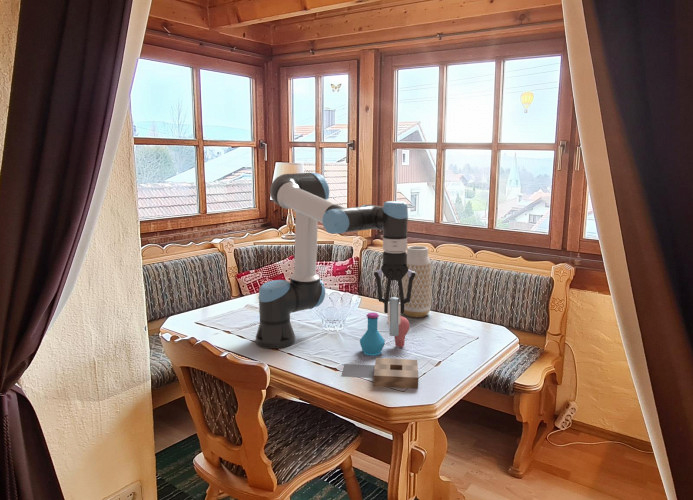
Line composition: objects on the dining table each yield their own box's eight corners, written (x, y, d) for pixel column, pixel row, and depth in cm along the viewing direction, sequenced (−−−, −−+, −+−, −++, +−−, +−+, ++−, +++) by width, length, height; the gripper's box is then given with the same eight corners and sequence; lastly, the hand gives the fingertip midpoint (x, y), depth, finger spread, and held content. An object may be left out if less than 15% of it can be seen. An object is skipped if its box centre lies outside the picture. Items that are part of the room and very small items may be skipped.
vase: (435, 312, 242) (438, 246, 235) (423, 321, 230) (425, 252, 224) (408, 307, 249) (410, 243, 243) (394, 315, 237) (396, 248, 231)
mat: (341, 377, 175) (341, 376, 175) (344, 364, 185) (344, 363, 184) (377, 379, 174) (377, 378, 174) (378, 366, 183) (378, 365, 183)
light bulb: (396, 351, 196) (397, 320, 194) (386, 345, 203) (387, 315, 200) (412, 348, 200) (413, 318, 197) (402, 342, 206) (402, 312, 204)
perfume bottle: (358, 348, 199) (358, 310, 196) (382, 347, 200) (383, 309, 197) (361, 358, 190) (361, 318, 187) (386, 357, 191) (387, 317, 188)
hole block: (373, 387, 168) (373, 375, 167) (375, 368, 182) (375, 357, 181) (418, 389, 166) (418, 377, 166) (416, 370, 180) (417, 359, 179)
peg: (389, 335, 170) (389, 299, 167) (389, 332, 173) (389, 297, 170) (398, 336, 169) (398, 299, 167) (398, 333, 172) (399, 297, 170)
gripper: (369, 252, 163) (368, 325, 167) (420, 253, 161) (418, 327, 166) (370, 248, 170) (370, 318, 175) (419, 249, 169) (418, 319, 173)
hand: (394, 322), depth 170 cm, fingers closed on peg, 3 cm apart
